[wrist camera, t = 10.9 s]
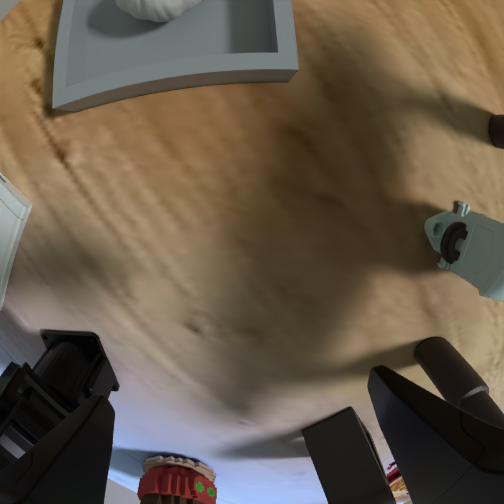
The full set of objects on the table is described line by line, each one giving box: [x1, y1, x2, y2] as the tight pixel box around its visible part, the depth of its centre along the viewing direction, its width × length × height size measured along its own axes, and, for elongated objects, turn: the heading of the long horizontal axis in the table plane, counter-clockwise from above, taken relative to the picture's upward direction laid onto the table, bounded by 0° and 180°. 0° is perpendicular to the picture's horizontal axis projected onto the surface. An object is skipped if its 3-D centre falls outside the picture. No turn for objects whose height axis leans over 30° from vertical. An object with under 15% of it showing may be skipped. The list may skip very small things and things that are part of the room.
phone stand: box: [302, 407, 396, 504], centre depth 21 cm, size 9×6×12 cm, turn 31°
